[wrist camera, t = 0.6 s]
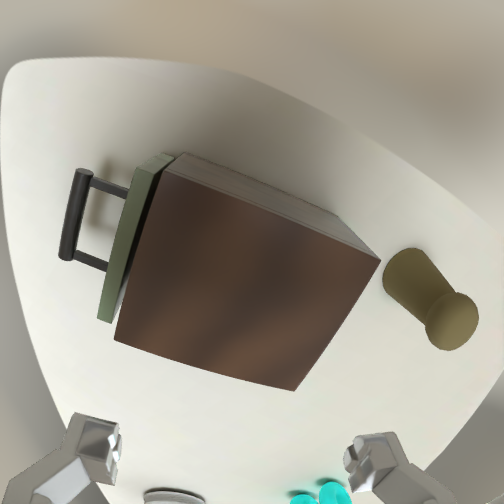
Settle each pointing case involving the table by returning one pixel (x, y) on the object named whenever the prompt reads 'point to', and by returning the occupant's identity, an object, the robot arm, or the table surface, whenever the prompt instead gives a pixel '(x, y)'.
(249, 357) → the cabinet
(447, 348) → the cork
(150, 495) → the white grooved pulley wheel
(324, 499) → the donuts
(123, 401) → the table surface
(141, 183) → the drawer
